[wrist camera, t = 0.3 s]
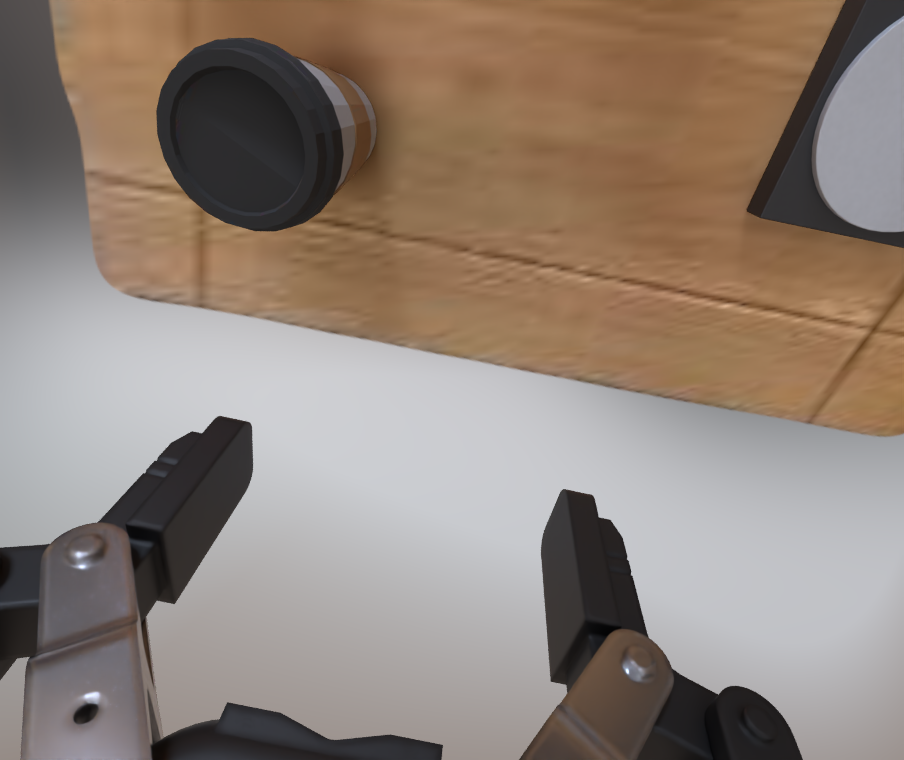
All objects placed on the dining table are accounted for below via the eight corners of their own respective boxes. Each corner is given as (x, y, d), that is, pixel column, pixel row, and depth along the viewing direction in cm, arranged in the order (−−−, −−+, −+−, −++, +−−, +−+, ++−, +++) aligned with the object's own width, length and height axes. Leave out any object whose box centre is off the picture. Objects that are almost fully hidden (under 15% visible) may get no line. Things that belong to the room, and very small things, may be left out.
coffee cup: (310, 23, 32) (184, -20, 19) (415, 112, 34) (365, 126, 21) (255, 136, 36) (119, 164, 23) (353, 210, 38) (278, 273, 25)
